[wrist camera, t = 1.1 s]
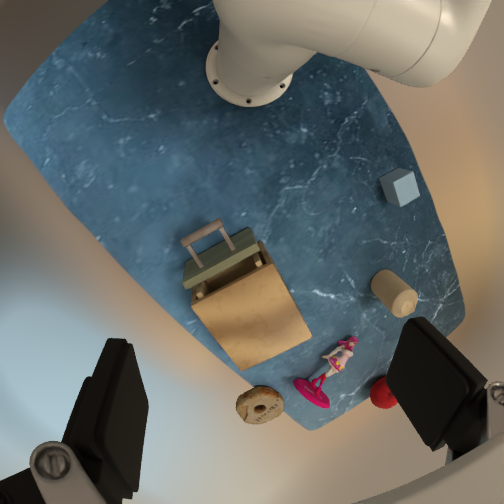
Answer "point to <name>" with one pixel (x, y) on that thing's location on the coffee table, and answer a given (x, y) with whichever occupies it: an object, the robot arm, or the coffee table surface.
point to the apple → (382, 395)
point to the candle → (394, 293)
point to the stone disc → (259, 405)
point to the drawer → (220, 259)
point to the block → (399, 187)
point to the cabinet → (253, 315)
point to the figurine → (326, 374)
